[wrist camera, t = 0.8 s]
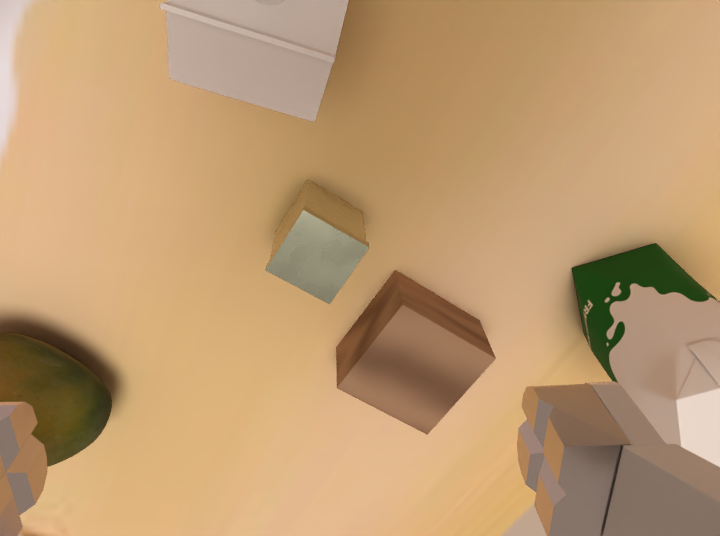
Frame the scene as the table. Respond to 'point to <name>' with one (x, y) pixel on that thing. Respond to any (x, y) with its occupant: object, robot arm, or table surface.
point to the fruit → (54, 394)
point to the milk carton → (256, 49)
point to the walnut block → (412, 354)
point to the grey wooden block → (318, 243)
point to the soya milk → (657, 342)
